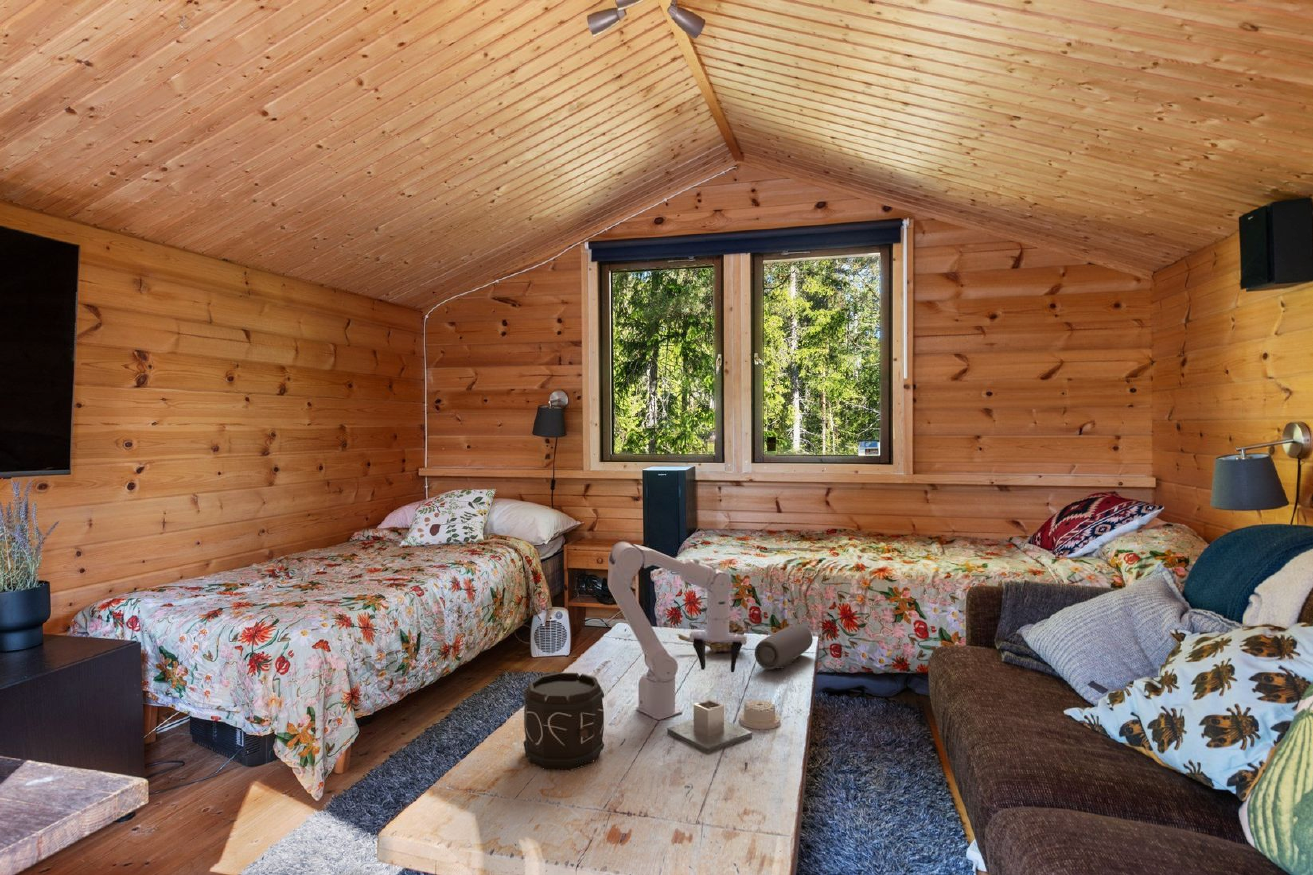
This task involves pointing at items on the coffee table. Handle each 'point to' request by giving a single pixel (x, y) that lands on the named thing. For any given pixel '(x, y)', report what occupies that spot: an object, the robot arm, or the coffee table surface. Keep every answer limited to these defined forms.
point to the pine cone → (720, 645)
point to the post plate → (712, 742)
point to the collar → (708, 717)
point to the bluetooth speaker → (783, 646)
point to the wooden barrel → (563, 721)
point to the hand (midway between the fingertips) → (717, 669)
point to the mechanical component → (759, 715)
